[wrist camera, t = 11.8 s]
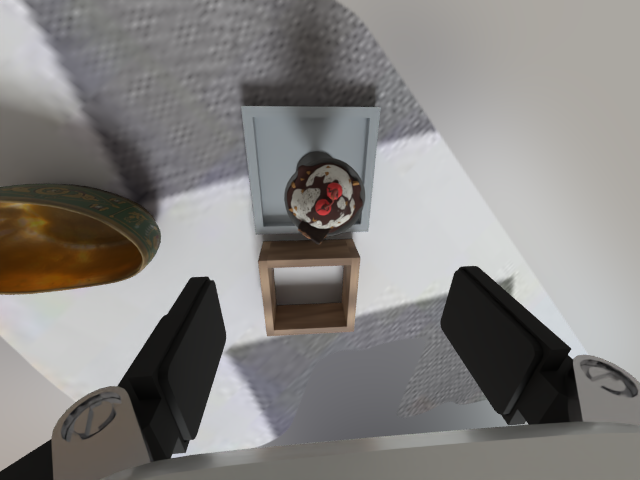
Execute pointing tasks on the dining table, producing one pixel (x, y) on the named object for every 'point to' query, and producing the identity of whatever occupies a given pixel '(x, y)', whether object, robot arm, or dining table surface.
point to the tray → (294, 143)
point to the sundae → (323, 196)
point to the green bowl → (71, 238)
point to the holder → (309, 315)
